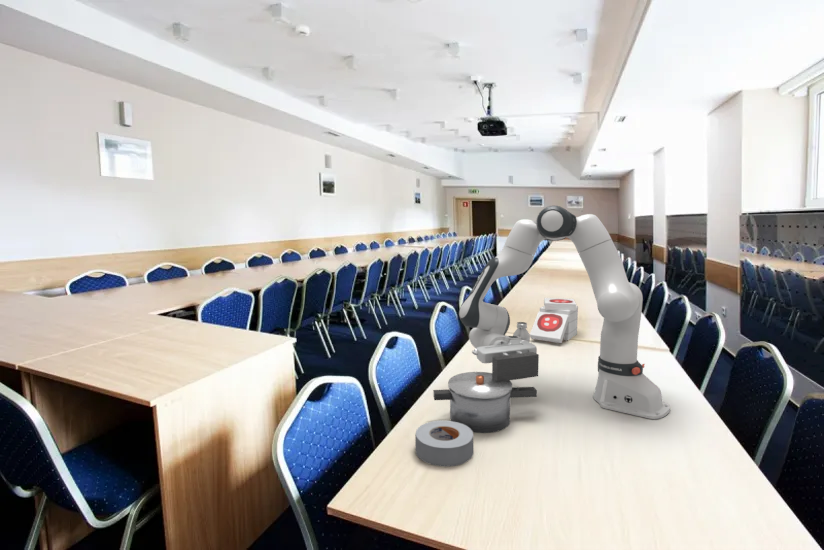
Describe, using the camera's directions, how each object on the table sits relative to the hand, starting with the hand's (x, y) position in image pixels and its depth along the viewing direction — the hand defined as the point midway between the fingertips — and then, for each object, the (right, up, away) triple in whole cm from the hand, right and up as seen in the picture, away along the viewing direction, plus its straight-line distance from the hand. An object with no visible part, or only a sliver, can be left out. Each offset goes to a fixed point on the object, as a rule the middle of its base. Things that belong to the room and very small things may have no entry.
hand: (518, 359), depth 137 cm
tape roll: (-25, -20, -21) cm, 39 cm away
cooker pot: (-11, -17, -4) cm, 21 cm away
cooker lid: (-8, -7, -4) cm, 11 cm away
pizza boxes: (+39, -5, +84) cm, 93 cm away
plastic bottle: (+10, -12, +35) cm, 38 cm away
